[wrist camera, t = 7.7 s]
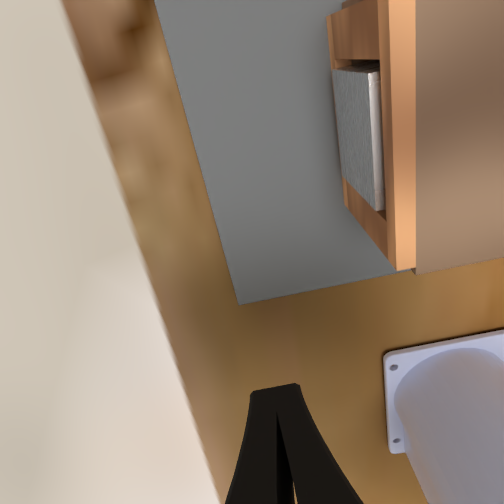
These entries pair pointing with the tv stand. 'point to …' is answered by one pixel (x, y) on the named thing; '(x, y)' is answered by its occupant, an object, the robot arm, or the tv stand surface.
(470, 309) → the tv stand surface
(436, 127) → the housing
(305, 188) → the mat
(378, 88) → the peg
